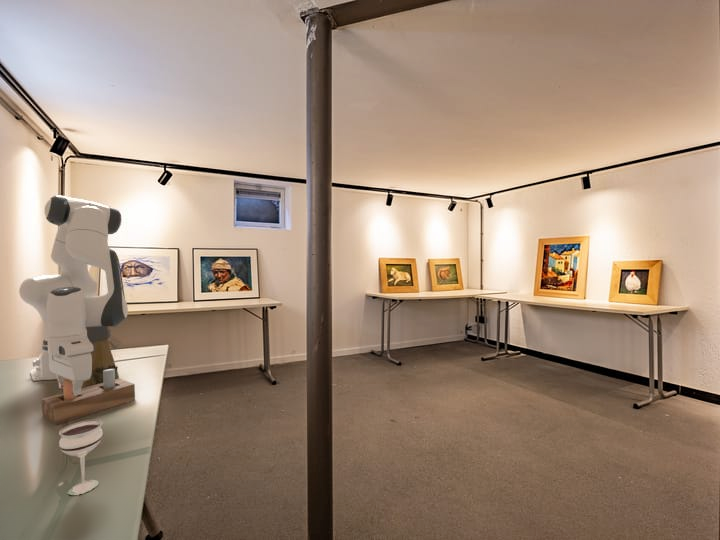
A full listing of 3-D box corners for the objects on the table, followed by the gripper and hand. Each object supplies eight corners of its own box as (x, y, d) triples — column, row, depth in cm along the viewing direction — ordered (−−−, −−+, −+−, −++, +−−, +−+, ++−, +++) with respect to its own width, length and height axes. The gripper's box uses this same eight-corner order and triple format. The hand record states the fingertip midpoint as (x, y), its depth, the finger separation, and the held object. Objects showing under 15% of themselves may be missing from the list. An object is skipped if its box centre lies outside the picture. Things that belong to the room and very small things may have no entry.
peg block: (42, 416, 101) (41, 399, 101) (120, 393, 118) (119, 378, 118) (55, 424, 96) (54, 406, 96) (135, 399, 113) (134, 384, 112)
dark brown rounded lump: (89, 397, 115) (88, 373, 114) (93, 390, 121) (92, 367, 121) (116, 393, 118) (115, 369, 118) (119, 386, 125) (119, 363, 124)
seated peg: (102, 402, 111) (101, 370, 110) (113, 399, 113) (112, 368, 113) (106, 404, 109) (105, 372, 109) (117, 401, 112) (116, 369, 111)
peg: (62, 414, 103) (61, 380, 102) (75, 410, 105) (73, 377, 105) (67, 416, 101) (65, 382, 101) (79, 412, 103) (78, 378, 103)
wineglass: (106, 473, 74) (104, 416, 74) (102, 491, 68) (100, 430, 68) (64, 484, 71) (62, 425, 70) (57, 504, 65) (54, 440, 64)
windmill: (120, 370, 143) (117, 296, 141) (138, 376, 135) (135, 298, 134) (52, 387, 125) (49, 302, 123) (69, 395, 117) (65, 304, 116)
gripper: (41, 341, 105) (43, 387, 106) (68, 351, 94) (70, 402, 94) (67, 337, 110) (69, 381, 111) (96, 346, 99) (98, 394, 100)
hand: (70, 391), depth 103 cm, fingers open, 8 cm apart
